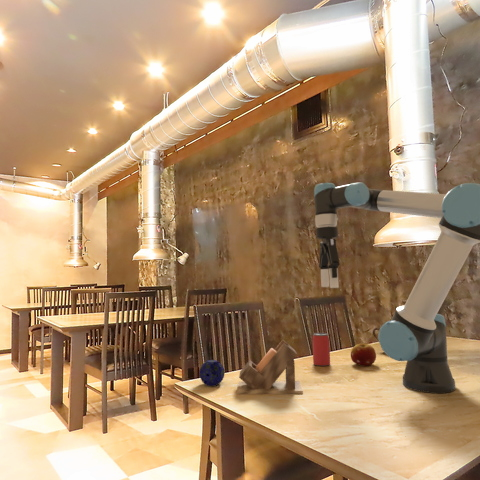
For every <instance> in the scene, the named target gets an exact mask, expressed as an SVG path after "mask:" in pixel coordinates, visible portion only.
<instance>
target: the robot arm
mask: <svg viewBox="0 0 480 480" xmlns="http://www.w3.org/2000/svg"><path fill="white" fill-rule="evenodd" d="M313 190H314V196H313V198H314V209H315V211H314V212H315V214H314V218H315V222H314V223H315V227H316V229H315V236H316V239H318V240H322V241H321V242H319V262H318V263H319V265H318V268H319V269H320V282H321V283H320V284H321V285H320V286H321V288H330V289H339V288H340V287H339V285H340V284H339V283H340V282H339V266H340V260H339V253H338V249H337V240H336V239H337V238H338V237H339V233H338V232H339V230H338V227H337V226H338V221H339V217H338V216H337V215H338V211H337V210H340V209H344V208H353V209H359V210H361V209H362V210H366V211H370V212H385V213H393V214H401V215H411V216H421V217H428V218H437V219H440V221H439V223H438V227H439V229H440V234H439V236H438V238H437V240H436V242H435V244H434V246H433V248H432V250H431V252H430V253H429V256H428V257H427V260H426V261H425V264H424V266H423V268H422V270H421V271H420V274H419V275H418V278H417V279H416V282H415V284H414V285H413V288H412V290H411V292H410V293H409V296H408V297H407V300H406V302H405V304H403V305H401V306H398V307H396V309H395V311H394V313H393V316H392V317H391V319H390V320H391V321H390V320H387V321H386V322H385V323H383V324H382V326H381V327H379V328H380V330H378V334H377V335H378V336H377V337H378V338H379V341H378V342H379V344H380V347H381V350H382V351H383V352H384V353H385V354H386V356H388V357H389V358H390V359H392V360H395V361H398V362H406V364H405V368H404V374H402V385H403V386H404V387H406V388H408V389H411V390H413V391H418V392H424V393H434V394H435V393H436V394H440V393H442V394H443V393H444V392H445V393H451V392H454V391H456V380H455V378H453V375H452V371H451V369H450V366H449V365H450V364H449V363H448V345H447V324H446V319H445V316H444V315H443V314H440V313H439V310H440V309H441V307H442V305H443V303H444V301H445V299H446V298H447V296H448V294H449V292H450V290H451V288H452V287H453V285H454V283H455V280H456V279H457V277H458V275H459V273H460V271H462V268H463V266H464V264H465V262H466V260H467V259H468V257H469V255H470V252H471V251H472V249H473V247H474V246H475V245H477V244H480V183H474V182H467V183H462V184H459V185H456V186H454V187H453V188H451V189H450V190H448V192H447V193H445V194H443V193H432V192H431V193H429V192H416V191H415V192H414V191H400V190H390V189H389V190H387V189H384V190H383V189H376V188H375V189H373V188H369V187H368V186H367V185H366V184H365V183H364V182H362V181H361V182H352V183H350V184H344V185H340V186H336V185H335V184H334V183H332V182H325V183H324V182H322V183H318V184H315V187H314V188H313ZM453 390H454V391H453ZM450 391H451V392H450Z"/></svg>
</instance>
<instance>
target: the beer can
mask: <svg viewBox="0 0 480 480" xmlns="http://www.w3.org/2000/svg"><path fill="white" fill-rule="evenodd" d="M330 348H331V347H330V337H329V334H328V333H325V332H315V333H313V336H312V359H313V360H312V363H313V365H315V366H317V367H328V366H330V365H331V349H330Z"/></svg>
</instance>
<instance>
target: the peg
mask: <svg viewBox="0 0 480 480" xmlns="http://www.w3.org/2000/svg"><path fill="white" fill-rule="evenodd" d="M276 352H277V351H275V348H273V347H271V348H269V350H268V352H266V354H264V356H263V357H262V359H261V360H260V361H259V362H258V364H256V365H257V366H256V368H255V369H256V370H257V371H258V372H259V373H260V372H261V371H262V370H263V369H264V367H265V366H266V365H267V364H268V362H269V361H270V360H271V359H272V357H273V356H274V355H275V354H276Z"/></svg>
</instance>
